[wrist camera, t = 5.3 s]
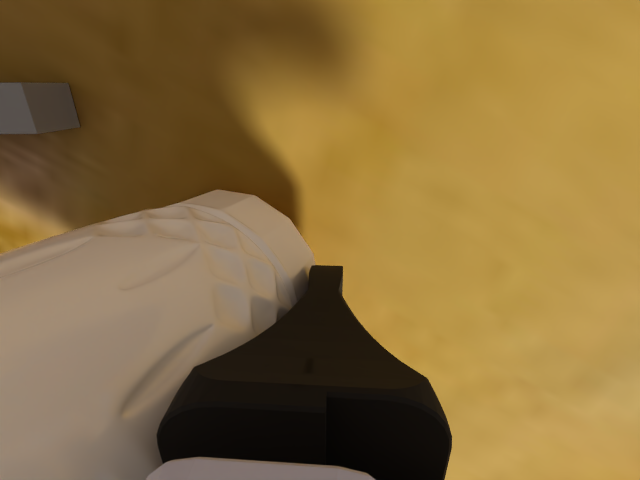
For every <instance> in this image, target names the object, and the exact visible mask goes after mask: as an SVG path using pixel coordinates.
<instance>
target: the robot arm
mask: <svg viewBox="0 0 640 480" xmlns="http://www.w3.org/2000/svg"><path fill="white" fill-rule="evenodd" d="M342 283H343V266H321V265H312V266H311V268H310V271H309V282H308V290H307V291H306V293H305V294H304V295H303V296H302V297H301V298H300V300H299V301H298V302H297V303H296V304H295V305H294V306H293V307H292V308H291V309H290V310H289V311H288V312H287V313H286V314H285V315H284V316H283V317H282V318H280V319H279V320H278V321H277V322H276V323H275V324H273V325H272V326H271V327H269V328H268V329H266V330H265V331H263V332H262V333H261V334H259V335H258V336H256V337H255V338H253V339H251V340H250V341H248V342H246V343H244V344H243V345H241V346H239V347H237V348H235V349H233V350H231V351H229V352H227V353H225V354H223V355H221V356H218V357H216V358H214V359H211V360H209V361H207V362H205V363H202V364H200V365H197V366H195V367H194V368H193V369H192V371H191V372H190V374H189V375H188V376H187V378H186V379H185V381H184V382H183V383H182V385H181V387H180V388H179V390H178V391H177V393H176V395H175V396H174V398H173V400H172V402H171V404H170V406H169V408H168V409H167V411H166V413H165V415H164V417H163V419H162V420H161V422H160V425H159V428H158V431H157V434H156V436H157V445H158V449H159V453H160V456H161V459H162V463H163V465H162V466H160V467H159V468H157V469H156V470H155V471H153V472H152V473H151V474H149V475H148V476H147V478H146V480H444V479H445V475H446V470H447V466H448V462H449V457H450V453H451V449H452V435H451V432H450V428H449V424H448V421H447V418H446V416H445V414H444V411H443V409H442V407H441V404H440V402H439V400H438V398H437V396H436V394H435V392H434V390H433V388H432V386H431V384H430V382H429V380H428V379H427V378H426V377H424V376H423V375H421V374H420V373H418V372H417V371H415V370H413V369H412V368H410V367H409V366H407V365H406V364H404V363H402V362H401V361H400V360H398V359H397V358H396V357H394V356H393V355H392V354H391V353H389V352H388V351H387V350H386V349H384V348H383V347H382V346H381V345H380V344H379V343H378V342H377V341H376V340H375V339H374V338H373V337H372V336H371V335H370V334H369V333H368V332H367V331H366V330H365V328H364V327H363V326H362V325H361V324H360V322H359V321H358V320H357V318H356V317H355V316H354V314H353V313H352V311H351V310H350V308H349V307H348V305H347V303H346V302H345V300H344V298H343V296H342Z"/></svg>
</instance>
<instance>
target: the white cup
mask: <svg viewBox="0 0 640 480" xmlns="http://www.w3.org/2000/svg"><path fill="white" fill-rule="evenodd" d="M312 265H315V259H314V254H313V252H312V251H311V249H310V248H309V246H308V245H307V243H306V242H305V240H304V239H303V237H302V236H301V234H300V233H299V231H298V230H297V228H296V227H295V226H294V224H293V223H292V221H291V220H290V219H289V218H288V217H287V216H285V215H284V214H282V213H281V212H279V211H278V210H276V209H275V208H273V207H272V206H270V205H269V204H267V203H266V202H264V201H263V200H261V199H260V198H258V197H257V196H255V195H250V194H244V193H238V192H232V191H225V190H219V189H218V190H214V191H211V192H208V193H205V194H202V195H199V196H197V197H194V198H191V199H188V200H185V201H182V202H179V203H176V204H172V205H168V206H165V207H162V208H156V209H144V210H142V211H140V212H136V213H132V214H128V215H124V216H120V217H117V218H113V219H110V220H106V221H102V222H99V223H95V224H91V225H88V226H85V227H81V228H78V229H75V230H72V231H68V232H65V233H62V234H59V235H56V236H53V237H50V238H47V239H43V240H40V241H37V242H34V243H31V244H28V245H25V246H21V247H18V248H15V249H12V250H9V251H6V252H3V253H0V480H146V478H147V476H148V475H149V474H151V473H152V472H153V471H155V470H156V469H157V468H159V467H160V466H162V465H163V463H162V459H161V456H160V453H159V449H158V445H157V436H156V434H157V431H158V428H159V425H160V422H161V420H162V419H163V417H164V415H165V413H166V411H167V409H168V408H169V406H170V404H171V402H172V400H173V398H174V396H175V395H176V393H177V391H178V390H179V388H180V387H181V385H182V383H183V382H184V381H185V379H186V378H187V376H188V375H189V374H190V372H191V371H192V369H193V368H194V367H195V366H197V365H200V364H202V363H205V362H207V361H209V360H211V359H214V358H216V357H218V356H221V355H223V354H225V353H227V352H229V351H231V350H233V349H235V348H237V347H239V346H241V345H243V344H244V343H246V342H248V341H250V340H251V339H253V338H255V337H256V336H258V335H259V334H261V333H262V332H263V331H265V330H266V329H268V328H269V327H271V326H272V325H273V324H275V323H276V322H277V321H278V320H279V319H280V318H282V317H283V316H284V315H285V314H286V313H287V312H288V311H289V310H290V309H291V308H292V307H293V306H294V305H295V304H296V303H297V302H298V301H299V300H300V298H301V297H302V296H303V295H304V294H305V293H306V291H307V290H308V282H309V271H310V268H311V266H312Z"/></svg>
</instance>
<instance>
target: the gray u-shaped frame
mask: <svg viewBox="0 0 640 480" xmlns="http://www.w3.org/2000/svg"><path fill="white" fill-rule="evenodd" d="M78 127H80V124H79V120H78V117H77V113H76V110H75V106H74V102H73V99H72V95H71V91H70V88H69V84H68V83H0V134H40V133H47V132H53V131H59V130H65V129H72V128H78Z"/></svg>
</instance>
